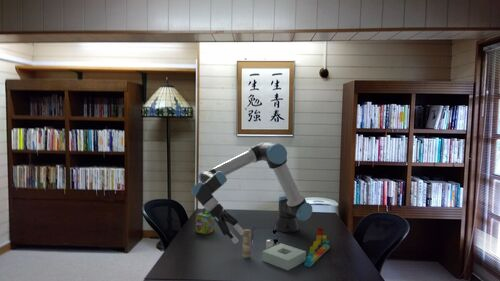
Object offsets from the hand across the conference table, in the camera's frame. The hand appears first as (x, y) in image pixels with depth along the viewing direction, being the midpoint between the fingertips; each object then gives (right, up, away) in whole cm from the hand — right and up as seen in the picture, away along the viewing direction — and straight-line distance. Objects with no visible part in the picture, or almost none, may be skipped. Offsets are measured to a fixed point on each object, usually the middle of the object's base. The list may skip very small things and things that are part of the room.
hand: (240, 238), depth 176 cm
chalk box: (-24, -7, +38) cm, 45 cm away
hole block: (+23, -11, -3) cm, 25 cm away
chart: (+42, -11, +4) cm, 43 cm away
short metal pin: (+16, -10, +12) cm, 22 cm away
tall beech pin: (+3, -10, +1) cm, 10 cm away
